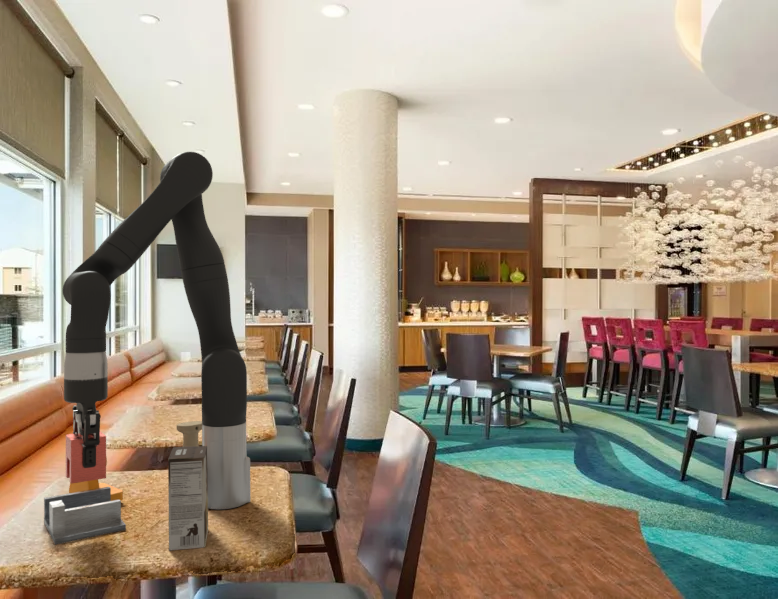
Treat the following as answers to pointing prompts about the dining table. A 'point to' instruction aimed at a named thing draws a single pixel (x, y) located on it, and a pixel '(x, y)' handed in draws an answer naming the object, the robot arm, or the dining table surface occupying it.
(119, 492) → the bracket
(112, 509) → the bracket
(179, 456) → the coffee box
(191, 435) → the handle
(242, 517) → the dining table surface
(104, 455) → the block
